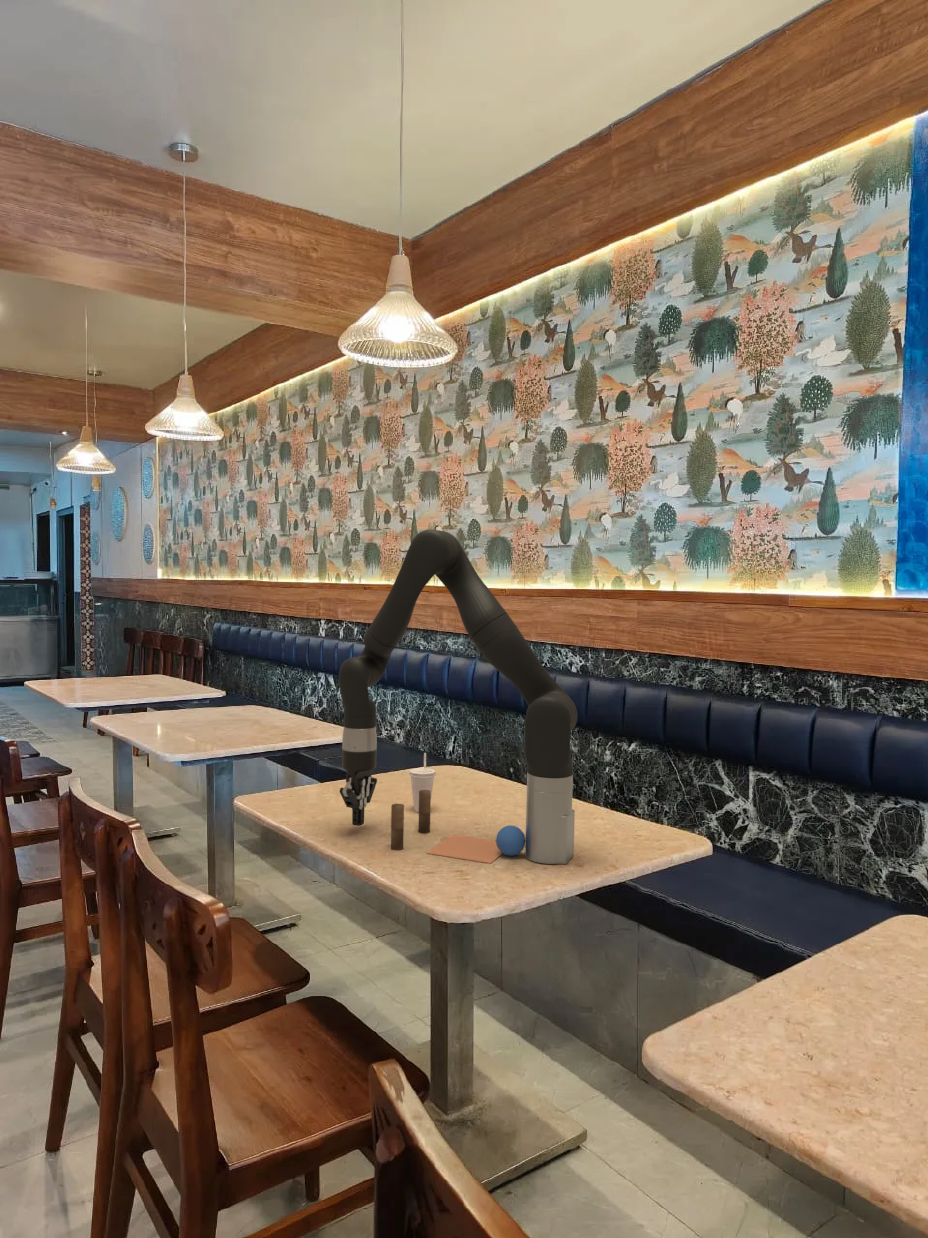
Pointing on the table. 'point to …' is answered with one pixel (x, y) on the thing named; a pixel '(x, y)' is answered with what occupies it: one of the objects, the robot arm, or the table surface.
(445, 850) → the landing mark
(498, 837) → the ball
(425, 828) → the right post
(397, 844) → the left post
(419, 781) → the smoothie
